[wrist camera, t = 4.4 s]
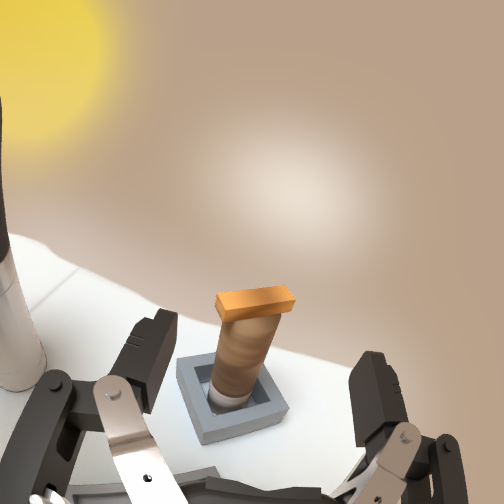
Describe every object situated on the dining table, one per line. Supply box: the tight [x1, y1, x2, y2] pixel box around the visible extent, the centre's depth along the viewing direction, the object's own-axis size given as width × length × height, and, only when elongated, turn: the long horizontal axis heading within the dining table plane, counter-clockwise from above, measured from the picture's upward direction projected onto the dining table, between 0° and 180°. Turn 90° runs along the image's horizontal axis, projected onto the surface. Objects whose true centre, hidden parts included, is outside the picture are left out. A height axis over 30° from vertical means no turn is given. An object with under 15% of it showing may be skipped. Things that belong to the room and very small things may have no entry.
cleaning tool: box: [207, 285, 295, 415], centre depth 29 cm, size 6×5×17 cm
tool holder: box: [176, 352, 289, 445], centre depth 32 cm, size 10×10×4 cm
